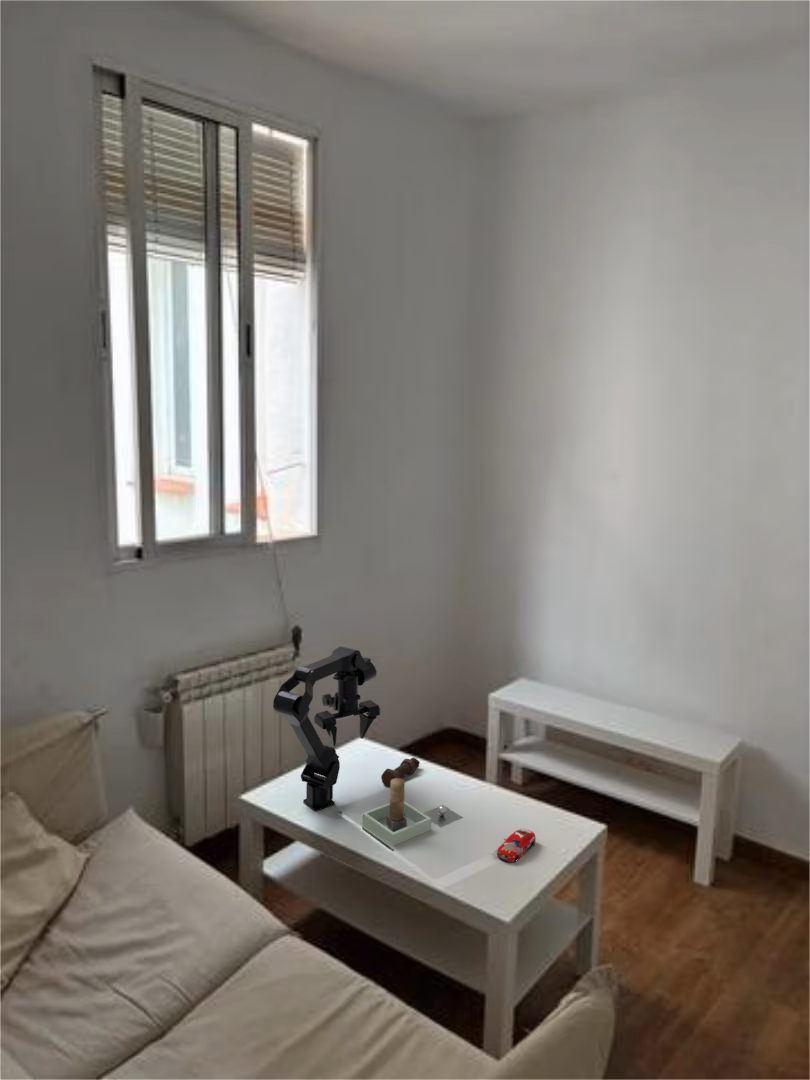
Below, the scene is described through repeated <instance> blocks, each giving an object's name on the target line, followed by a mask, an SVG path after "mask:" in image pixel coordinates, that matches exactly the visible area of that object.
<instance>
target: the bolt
mask: <svg viewBox="0 0 810 1080" xmlns="http://www.w3.org/2000/svg"><path fill="white" fill-rule="evenodd" d="M419 767H420V760H419V759H417V758H415V757H411V758H404V759H403V760H402V761H401V763H400V764H399V766H397V767H395V768H394V769H392V768H386V769H385V770H384V771H383V773H382V774H381V776H380V779H381V782H382V784H383V785H384V787H387V788H389V789H390V785H391V780H392V779H395V778H400V779H403V778H404V777H406V776H412V775H413V774H414V773H415V772H416V770H417V769H418V768H419Z"/></svg>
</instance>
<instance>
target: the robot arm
mask: <svg viewBox="0 0 810 1080" xmlns="http://www.w3.org/2000/svg"><path fill="white" fill-rule="evenodd" d="M371 660H372V659H371V658H369V657H363V656H362V654H361V651H360V650H359V649H356V648H355V649H354V648H350V647H347V646H341V645H340V646H338V647H337V648H335V649H334V650H333V651H331V654H330V655H329V656H327V657H324V658H322V659H320V660H316V661H314V662H312V663H310V664H307V665H304V666H299V667H297V668H296V669H295V671H294V672H293V674H292V676H291V677H289V678H288V679H287V680H286V681H285V682H283V683H282V684H281V685H280V687H279V689H278V691H277V692H276V694H275V696H274V699H273V703H272V706H273V710H274V712H275V713H276V714H277V715H278V716H279V717H280V718H282V719H283V720H284V721H286V722H287V723H288V724H290V726H291V728H292V729H293V731H294V734H295V735H296V736H297V738H298V739H297V740H299V742H300V743H301V746H302V748H303V749H304V751H305V752H306V754H307V756H306V759H305V766H304V768H303V770H302V772H301V775H300V780H301V782H304V783H306V791H305V792H306V796H305V797H306V798H305V799H303V800H302V801H303V803H304V804H305V803H306V804H305V805H307V806H308V807H309V806H310V807H309V808H311V809H312V810H313V809H314V810H313V811H314V812H315V811H316V812H317V810H318V811H319V810H323V809H325V808H328V807H331V806H334V805H335V804H336V802H335V801H334V800H333V797H334V794H333V793H334V786H335V785H336V784H337V782H338V778H339V773H340V766H341V764H340V756H339V755H338V754H337V751H336V749H335V748H334V747H336V743H337V732H338V727H337V726H336V725H337V721H338V720H339V721H340V720H343V719H347V718H350V717H355V716H359V738H360V739H364V737H365V736H366V734H367V731H368V729H369V728H370V726H371V725H372V723H373V722H374V720H375V719H377V717H378V716H380V715H381V706H380V705H378V704H377V703H376V702H374V701H373V700H372V699H368V700H364V701H360V702H359V700H361V695H360V694H359V686H360V687H361V686H363V685H364V684H366V683H369V682H370V681H372V680H373V679H375V678H376V676H377V670H376V669H377V668H376V667H375V665H374V664H373V663H372V662H371ZM332 675H333V677H332V679H333V680H335V681H337V691H336V692H334V693H335V694H334V695H333V694H332V695H331V694H330V693H326V694H322V697H321V699H322V705H323V706H324V707H327V706H328V708H333V711H336V712H335V713H331V712H330V711H328V710H324V711H319V712H316V714H314V717H313V718H314V719H313V721H314V723H315V725H317V726H318V727H319V728H321V729H322V730H325V731H326V734H327V736H328V738H329V741H330V743H331V746H332V747H331V746H329V745H325V744H323V742H322V740H321V737H320V736H319V735H318V733H317V731H316V728H315V727H314V725H313V723H312V721H311V719H310V718H309V713H310V704H311V702H312V700H313V699H314V685H315V684H316V682H318V681H320V680H322V679H325V678H328V677H330V676H332ZM300 683H301V684H304V692H303V693H304V694H303V695H301V694H297V693H293V692H291V691H292V690H294V689H295V688H296V687H297V686H298V685H299V684H300Z"/></svg>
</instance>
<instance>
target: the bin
mask: <svg viewBox="0 0 810 1080" xmlns="http://www.w3.org/2000/svg"><path fill="white" fill-rule="evenodd" d="M423 813H424V812H422V811H420V810H418V808H416V807H414V806H412V805H411V804H410V803H408V802H406V801H405V800H404V815H405V817H407V818H409V819H411V820H413V821H414V822H415V823H412V824H410V825H407V827H405V828H403V829H400V830H398V831H395V832H392V831H391V830H390V829H389V827H388V826H387V827H386V825H384V824H382V823H381V822H379V820H382V819H384V818H386V815H390V802H388V803H385V804H383V805H380V806H379V807H376V808H372V809H371V810H370V809H369V810H368V811H365V812H362V822H361V823H362V825H363V826H362V828H361V830H362V831H364V832H365V833H367V834H368V835H369V834H370V835H369V836H371V837H372V838H373V839H375V840H376V841H377V842H379V843H380V844H381V845H383V846H385V848H386V849H388V850H390V851H391V852H394V851H396V850H395V849H394V848H393V847H394V846H396V845H398V844H400V843H403V842H405V841H408V840H410V839H412V838H414V837H417V836H419V835H422V834H424V833H426V832H428V831H431V830H432V821H431V818H430V817H428V816H427V815H425V814H423ZM365 827H366V828H367V829H366V828H365ZM369 830H370V831H371V832H370V831H369ZM373 833H374V834H375V835H374V834H373ZM376 835H377V836H378V837H377V836H376ZM382 839H383V840H384V841H383V840H382ZM386 842H387V843H386ZM389 844H390V845H389ZM391 846H392V847H391Z"/></svg>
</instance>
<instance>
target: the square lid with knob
mask: <svg viewBox="0 0 810 1080" xmlns="http://www.w3.org/2000/svg"><path fill="white" fill-rule="evenodd" d="M422 813H423V814H425V815H427V816H428V817H430V818H431V823H433V824H435V825H437V826H438V827H439V828H442V827H445V826H447V825H449V824H451V823H453V822H456V821H459V820H461V819H463V818H464V817H463V816H462V815H460V814H458V813H457V812H455V811H454V810H451V809H450V808H448V807H447V806H445V805H443V804H442V805H440V806H437V807H434V808H432V809H430V810H428V811H425V812H422Z"/></svg>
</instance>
